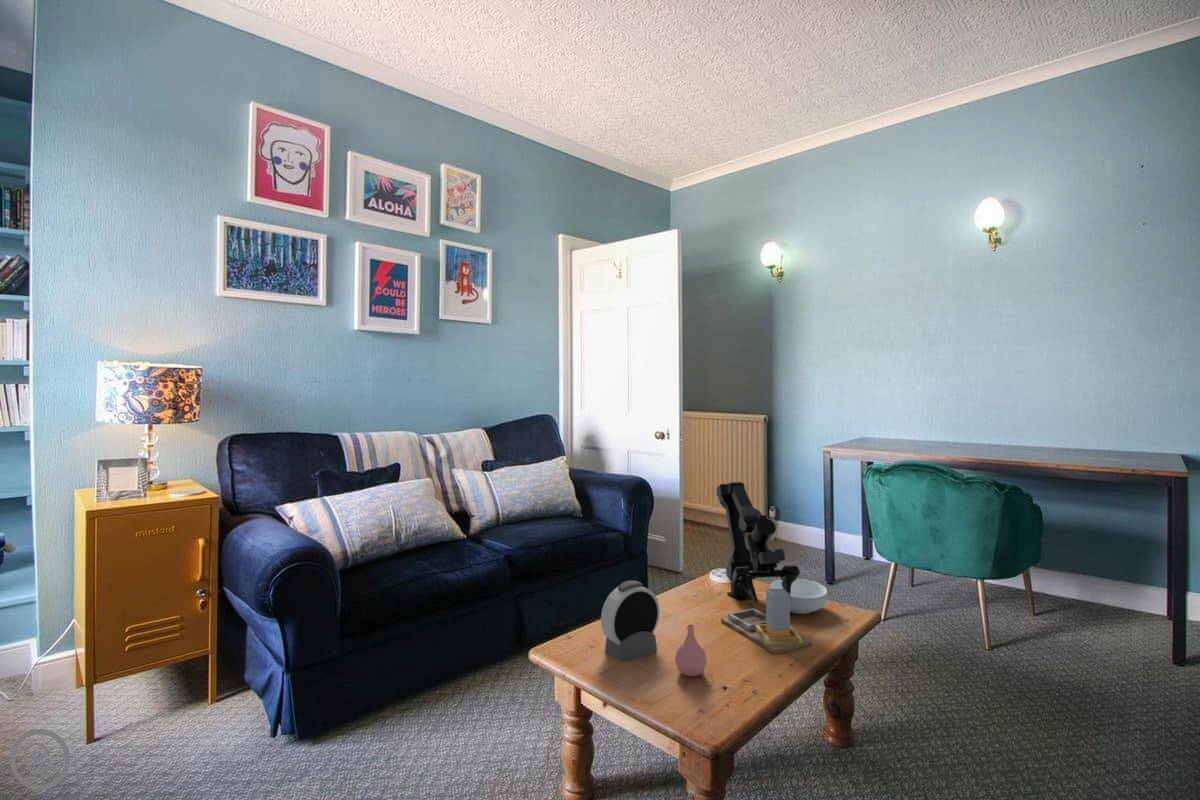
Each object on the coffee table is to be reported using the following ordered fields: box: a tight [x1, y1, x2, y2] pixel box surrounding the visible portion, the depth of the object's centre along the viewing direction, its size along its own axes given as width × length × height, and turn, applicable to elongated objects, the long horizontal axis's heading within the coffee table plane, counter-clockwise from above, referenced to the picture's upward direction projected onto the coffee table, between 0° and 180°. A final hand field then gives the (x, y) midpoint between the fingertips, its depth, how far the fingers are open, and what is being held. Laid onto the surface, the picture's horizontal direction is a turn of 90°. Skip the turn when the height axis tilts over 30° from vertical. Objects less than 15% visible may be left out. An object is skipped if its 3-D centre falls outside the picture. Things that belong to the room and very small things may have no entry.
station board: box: [720, 607, 813, 655], centre depth 166 cm, size 23×13×2 cm, turn 25°
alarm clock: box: [600, 580, 661, 662], centre depth 156 cm, size 16×10×18 cm, turn 123°
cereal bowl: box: [770, 577, 828, 615], centre depth 182 cm, size 17×17×7 cm
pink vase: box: [674, 624, 708, 677], centre depth 143 cm, size 8×8×12 cm
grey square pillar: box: [765, 588, 791, 638], centre depth 161 cm, size 4×5×12 cm
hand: (772, 602), depth 164 cm, fingers open, 9 cm apart
